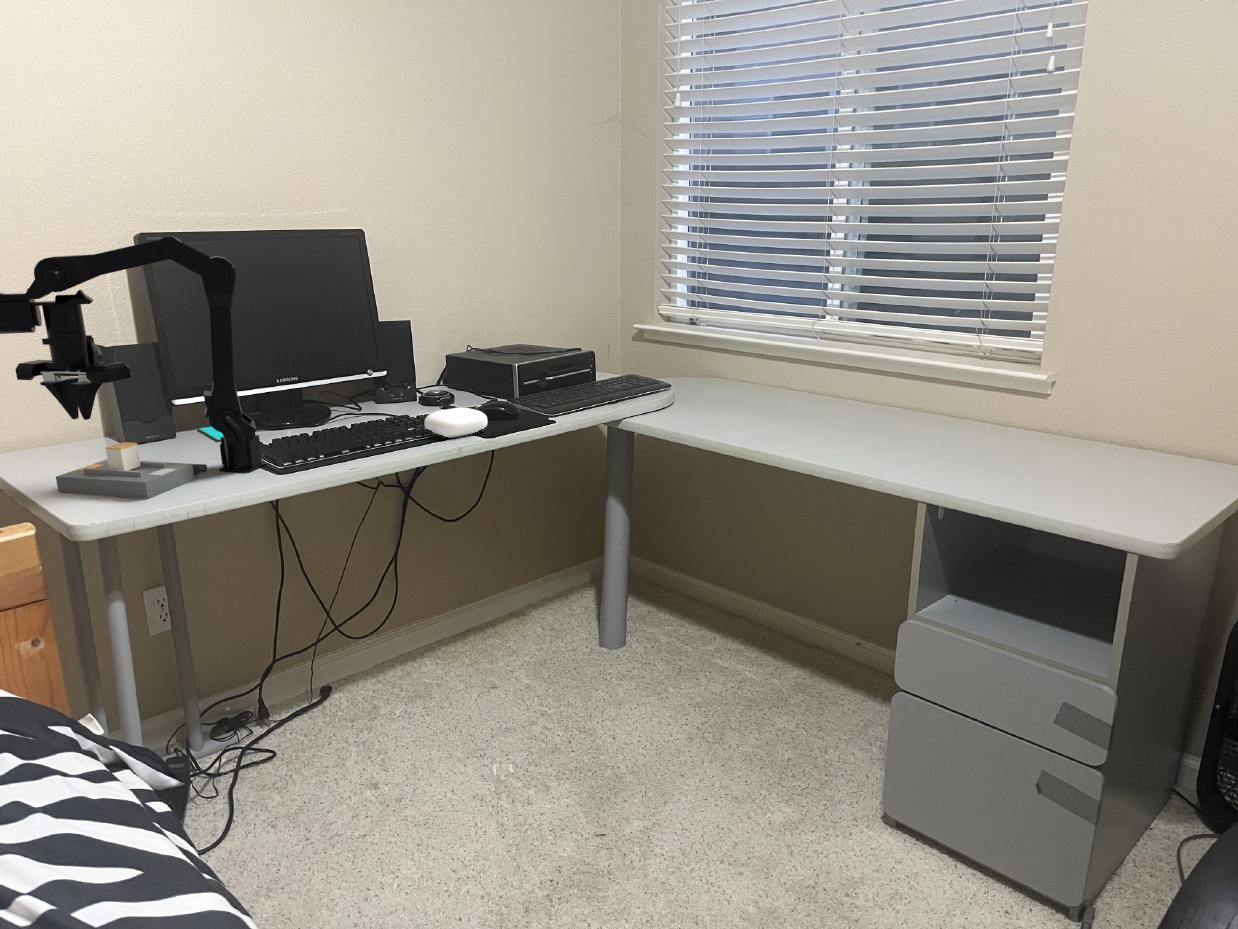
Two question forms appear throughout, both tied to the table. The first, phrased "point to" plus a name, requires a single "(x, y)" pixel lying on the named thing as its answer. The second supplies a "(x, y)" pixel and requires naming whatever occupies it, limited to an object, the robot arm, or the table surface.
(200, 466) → the grey thin rod
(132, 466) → the toggle
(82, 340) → the robot arm
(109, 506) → the table surface
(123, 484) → the grey tray
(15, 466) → the table surface
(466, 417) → the earbud case
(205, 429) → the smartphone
